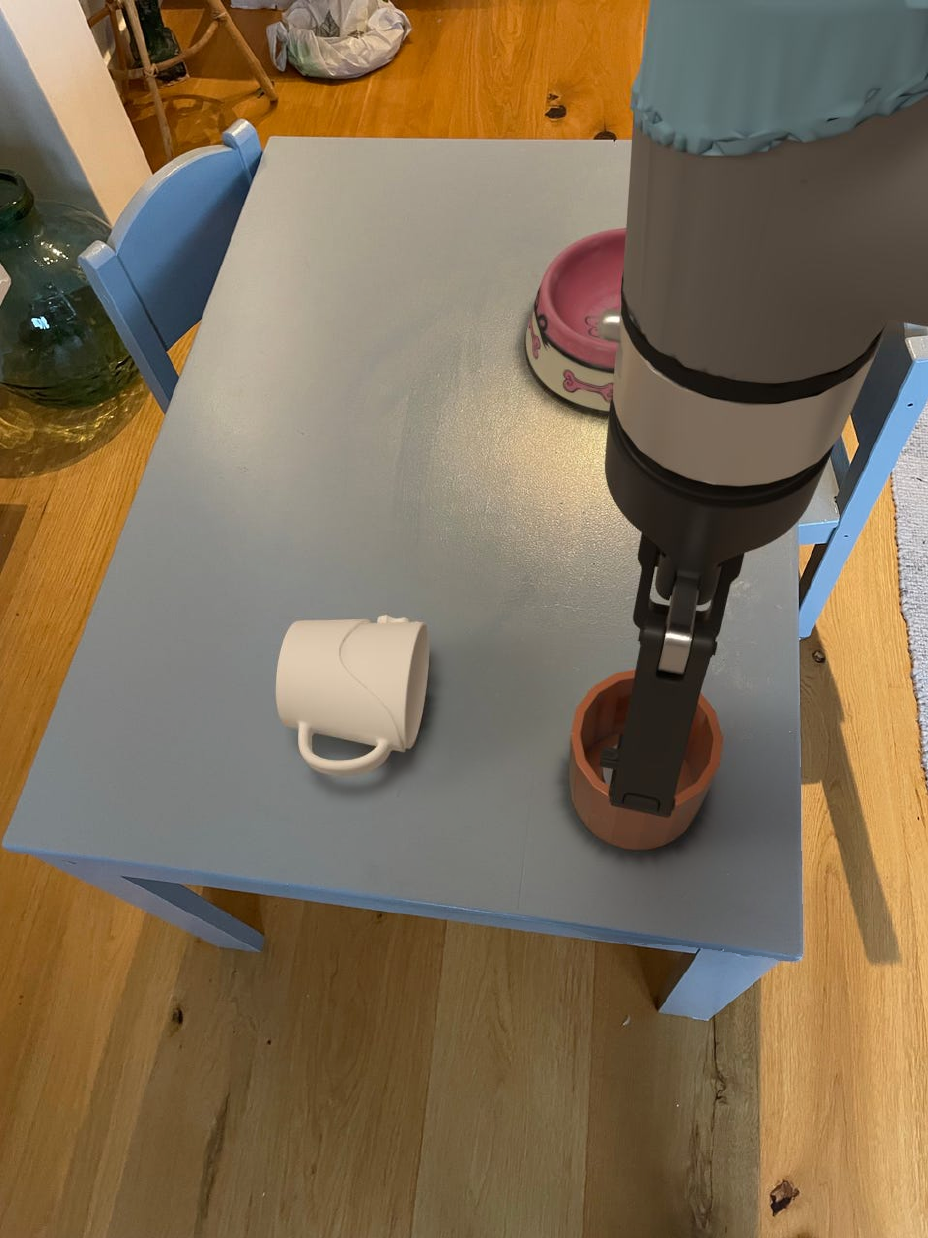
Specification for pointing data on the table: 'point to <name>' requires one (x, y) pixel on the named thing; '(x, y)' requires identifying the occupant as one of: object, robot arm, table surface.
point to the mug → (353, 686)
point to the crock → (602, 726)
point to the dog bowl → (577, 322)
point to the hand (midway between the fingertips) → (657, 672)
